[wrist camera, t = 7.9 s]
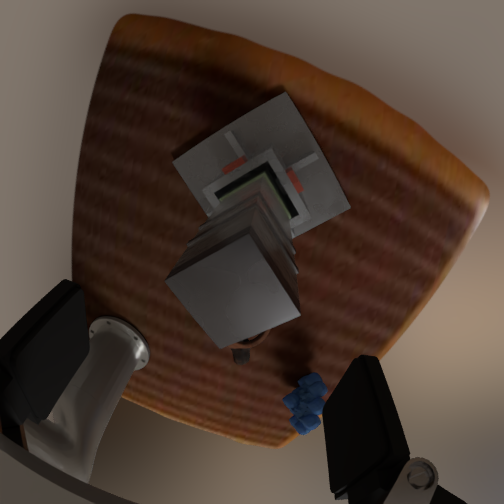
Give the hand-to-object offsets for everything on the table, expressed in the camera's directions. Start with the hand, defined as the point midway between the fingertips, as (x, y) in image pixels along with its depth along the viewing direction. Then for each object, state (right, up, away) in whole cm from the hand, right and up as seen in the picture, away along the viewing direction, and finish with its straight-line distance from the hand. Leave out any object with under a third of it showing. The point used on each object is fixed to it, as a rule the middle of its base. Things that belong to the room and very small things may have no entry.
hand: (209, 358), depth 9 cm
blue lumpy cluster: (+10, -18, +39) cm, 45 cm away
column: (+2, +9, +20) cm, 22 cm away
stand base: (+3, +12, +26) cm, 29 cm away
